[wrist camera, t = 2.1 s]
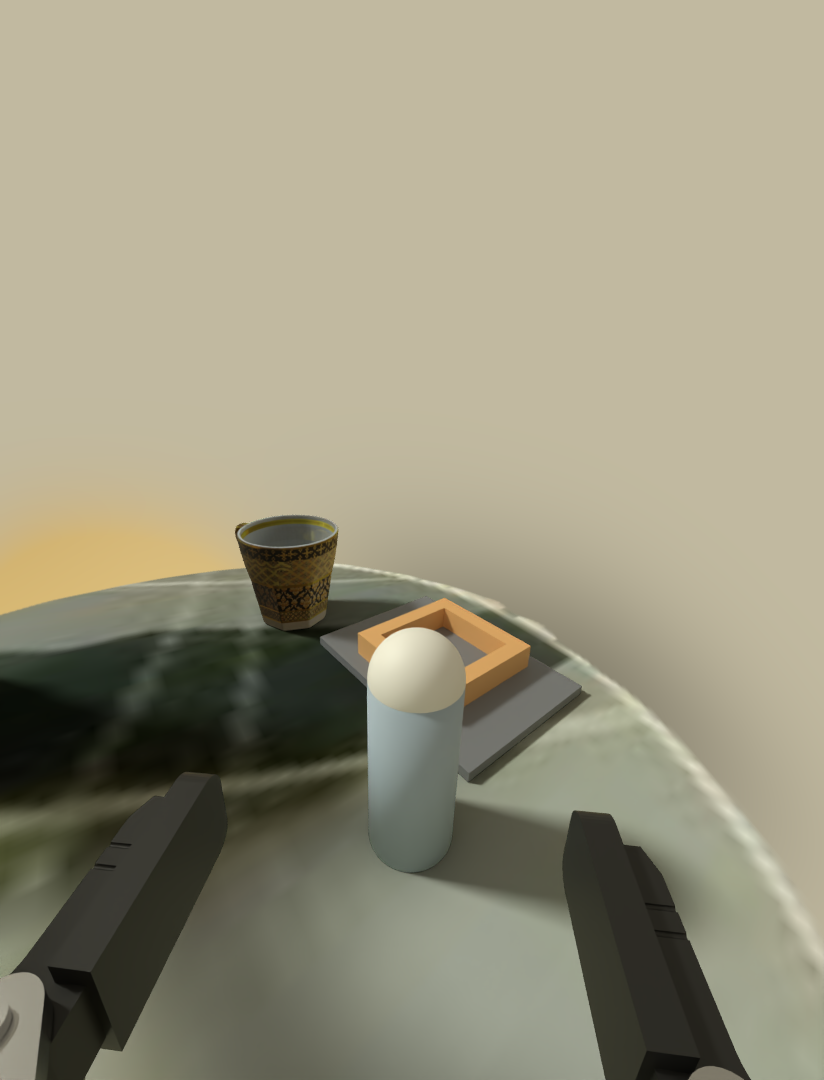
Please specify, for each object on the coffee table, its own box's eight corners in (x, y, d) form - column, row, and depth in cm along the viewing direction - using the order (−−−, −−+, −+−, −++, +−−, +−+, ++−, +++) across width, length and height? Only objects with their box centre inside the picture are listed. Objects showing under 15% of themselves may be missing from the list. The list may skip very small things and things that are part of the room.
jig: (320, 643, 43) (318, 617, 42) (426, 601, 52) (427, 579, 51) (468, 782, 29) (471, 747, 28) (580, 693, 38) (586, 664, 37)
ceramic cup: (358, 607, 50) (357, 525, 47) (297, 651, 42) (290, 556, 39) (275, 580, 56) (268, 505, 53) (207, 614, 48) (194, 528, 44)
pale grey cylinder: (352, 821, 27) (346, 630, 22) (415, 777, 30) (423, 600, 25) (404, 893, 23) (411, 683, 18) (469, 834, 26) (491, 640, 21)
